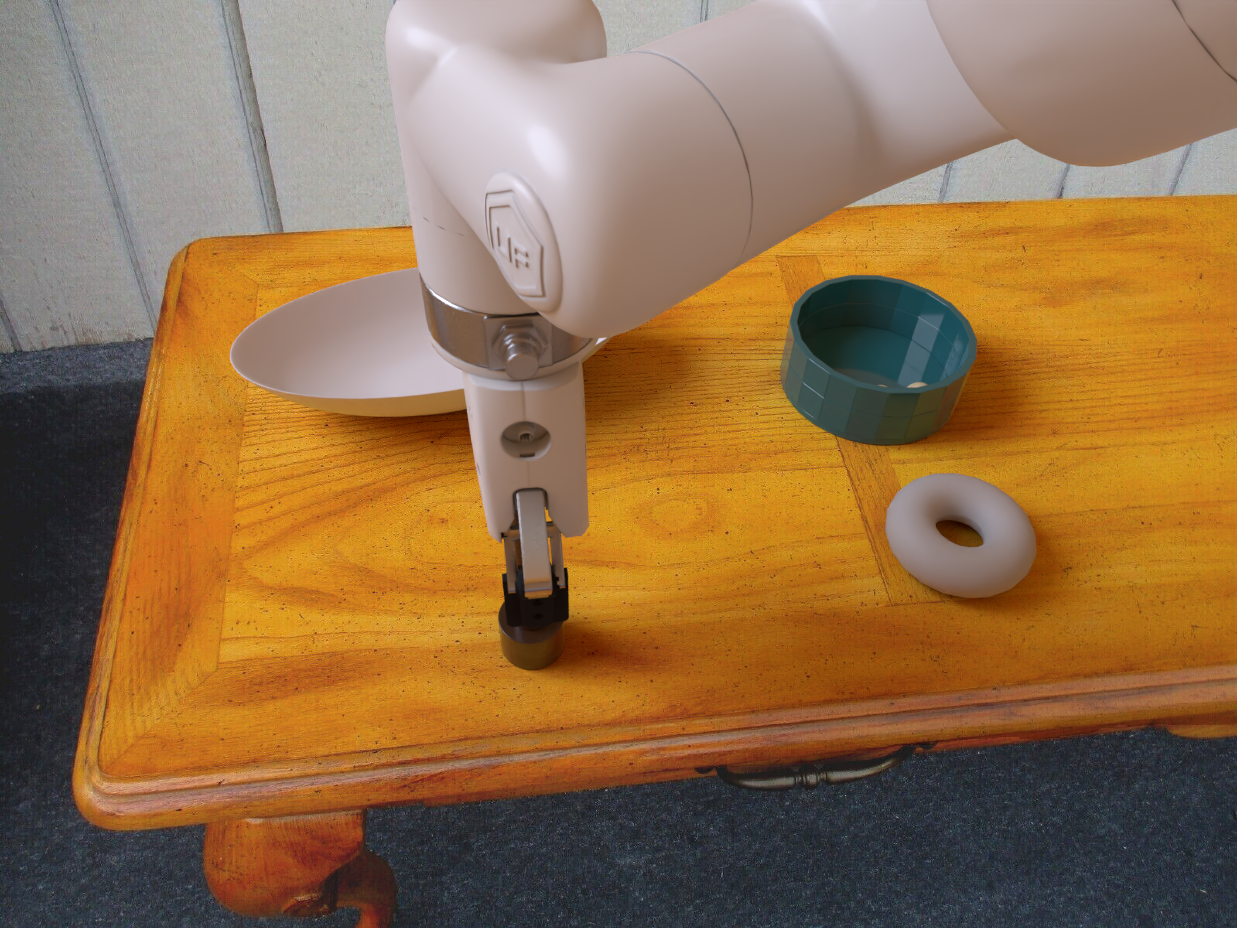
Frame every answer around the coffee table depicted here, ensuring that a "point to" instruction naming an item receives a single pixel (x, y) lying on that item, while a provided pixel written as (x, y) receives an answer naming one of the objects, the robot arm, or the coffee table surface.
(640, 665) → the coffee table surface
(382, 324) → the bowl
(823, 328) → the mixing bowl
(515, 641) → the muddler
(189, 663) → the coffee table surface
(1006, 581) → the donut
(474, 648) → the coffee table surface
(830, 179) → the robot arm
